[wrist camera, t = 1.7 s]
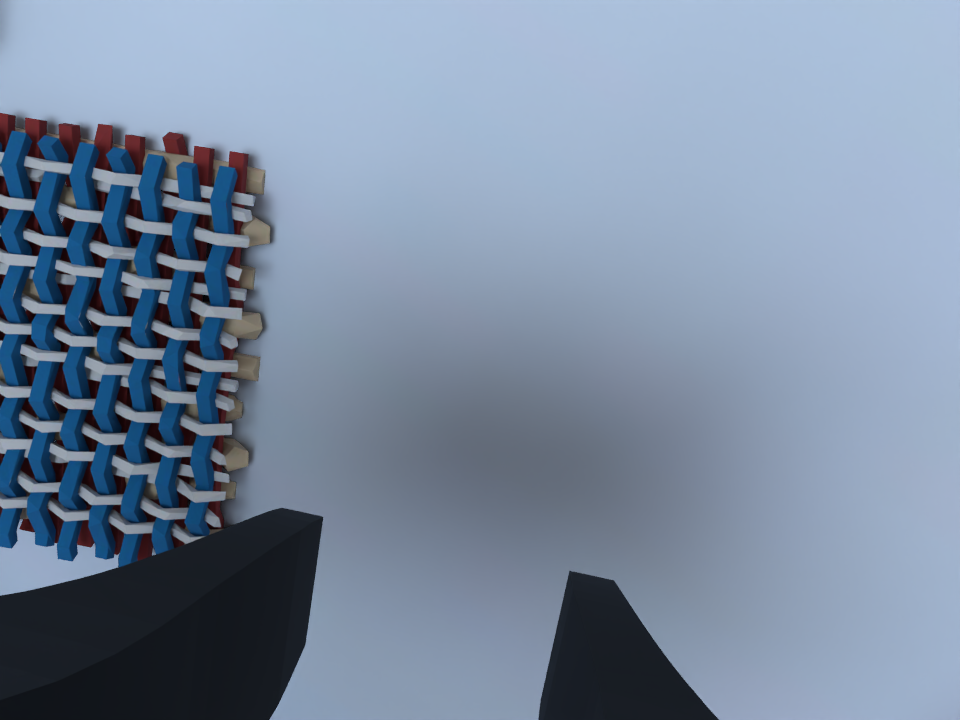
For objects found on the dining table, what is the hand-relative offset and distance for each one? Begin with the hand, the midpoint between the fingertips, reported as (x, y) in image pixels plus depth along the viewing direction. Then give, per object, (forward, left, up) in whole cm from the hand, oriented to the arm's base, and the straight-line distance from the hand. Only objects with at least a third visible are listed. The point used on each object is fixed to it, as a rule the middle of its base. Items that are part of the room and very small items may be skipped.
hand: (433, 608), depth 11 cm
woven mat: (0, +11, -9) cm, 14 cm away
